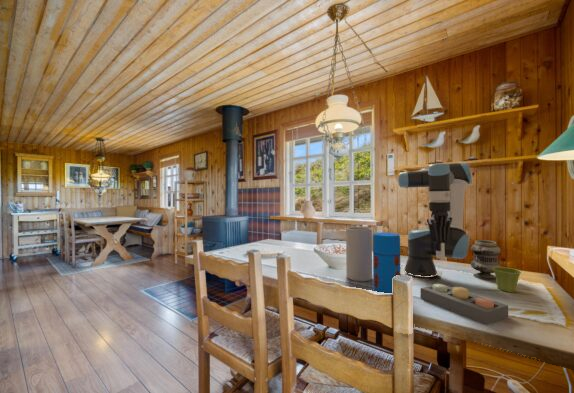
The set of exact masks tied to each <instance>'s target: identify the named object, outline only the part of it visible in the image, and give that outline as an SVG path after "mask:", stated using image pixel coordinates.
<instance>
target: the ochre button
mask: <svg viewBox="0 0 574 393" xmlns="http://www.w3.org/2000/svg"><path fill="white" fill-rule="evenodd" d="M469 291H470V290H469V289H468V288H466V287H462V286H453V288H452V296H453V297H456V298H459V299H462V300H467V299H469V293H470V292H469Z"/></svg>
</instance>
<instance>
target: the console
mask: <svg viewBox="0 0 574 393" xmlns="http://www.w3.org/2000/svg"><path fill="white" fill-rule="evenodd" d="M441 284H442V285H445V286H447V292H443V293H442V292H439V291H436V290H433V284H432V285H429V286H427V285H426V286H423V287H420V299H422V300H424V301H427V302H430V303H432V304H435V305H436V306H437V305H438V306H439V307H442V308H444V309H446V310H449V311H452V312H455V313H456V314H457V313H458V314H460V315H463V316H464V317H467V318H470V319H472V320H475V321H477V322H480V323H482V324H485V325H487V326H488V325H491V324H493V323H496V322H498V321H501V320H504V319H506V318H509V305H508V304H506V303H502V302H499V301H496V300H492V299H491V300H492V301H493V302H494V308H491V309H487V308H484V307H482V306H479V305H476V304H475V299H476V298H486V297H484V296H481V295H477V294H475V293H471V292H469V299H467V300H462V299H459V298H456V297H453V296H452V288H453V287H454V286H453V287H452V286H449V285H446V284H443V283H441ZM486 299H488V298H486Z"/></svg>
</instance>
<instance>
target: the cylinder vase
mask: <svg viewBox="0 0 574 393" xmlns="http://www.w3.org/2000/svg"><path fill="white" fill-rule="evenodd" d="M372 230H373V228H371V227H366V226H350V227H349V226H348V227H346V228H345V239H346V241H345V243H346V245H345V248H346V249H345V251H346V252H345V254H346V256H345V257H346V263H345V264H346V267H345V268H346V270H345V271H346V277H347V279H349V280H351V281H356V282H368V281H371V280H372V279H373V231H372Z"/></svg>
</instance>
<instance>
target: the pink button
mask: <svg viewBox="0 0 574 393" xmlns="http://www.w3.org/2000/svg"><path fill="white" fill-rule="evenodd" d="M493 301H494V300H493ZM493 301H492V299H491V298H487V299H486V297H484V298H476V299H475V304H476V305H479V306H482V307H484V308H487V309H491V308H494V302H493Z"/></svg>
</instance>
